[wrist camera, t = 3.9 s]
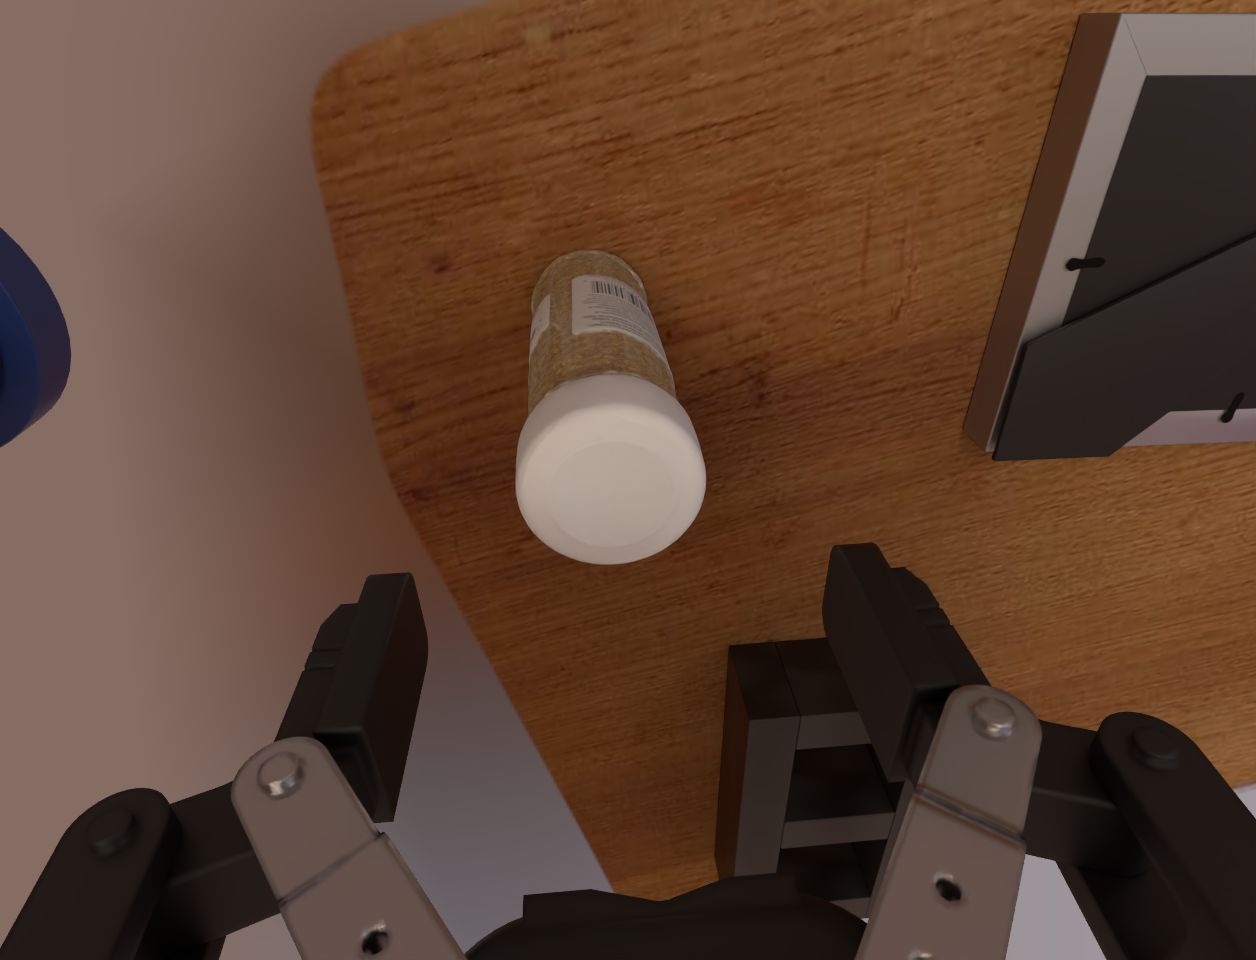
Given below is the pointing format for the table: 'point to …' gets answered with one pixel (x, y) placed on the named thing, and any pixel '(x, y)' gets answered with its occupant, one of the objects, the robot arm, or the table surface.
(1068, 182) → the picture frame
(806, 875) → the holder
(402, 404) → the table surface
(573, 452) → the spice jar
